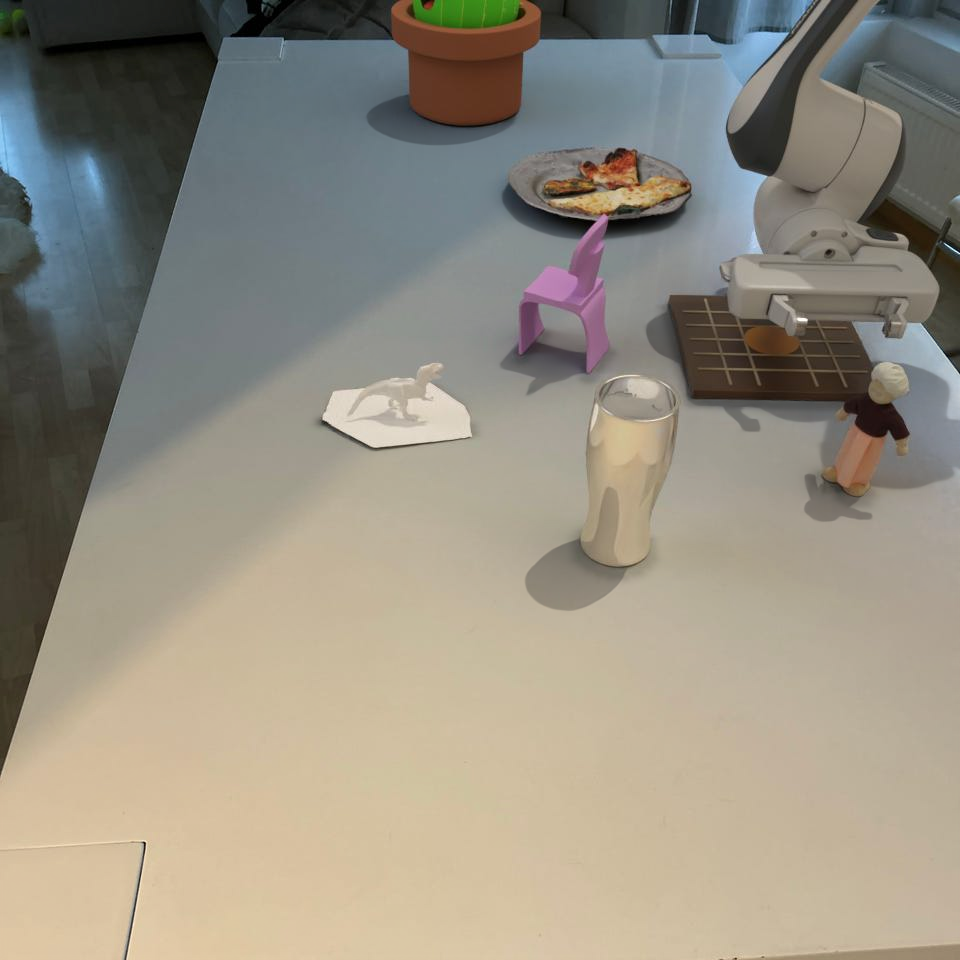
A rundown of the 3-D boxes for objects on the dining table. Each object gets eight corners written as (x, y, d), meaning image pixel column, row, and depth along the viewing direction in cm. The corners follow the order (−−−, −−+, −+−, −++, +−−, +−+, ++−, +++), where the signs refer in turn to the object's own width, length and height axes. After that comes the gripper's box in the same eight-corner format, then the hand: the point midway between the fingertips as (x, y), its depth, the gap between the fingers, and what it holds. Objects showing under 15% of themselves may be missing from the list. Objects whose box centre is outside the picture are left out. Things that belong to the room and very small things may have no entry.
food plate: (645, 155, 145) (649, 129, 143) (719, 221, 130) (725, 194, 128) (486, 173, 140) (486, 147, 137) (544, 245, 125) (546, 218, 122)
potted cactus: (470, 74, 168) (472, -106, 150) (562, 110, 157) (576, -80, 139) (369, 103, 158) (357, -87, 139) (459, 144, 147) (460, -56, 128)
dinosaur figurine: (319, 464, 97) (303, 413, 92) (341, 384, 104) (327, 333, 99) (469, 463, 95) (461, 411, 90) (481, 381, 102) (474, 328, 97)
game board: (837, 305, 115) (840, 296, 115) (883, 401, 102) (887, 392, 101) (668, 302, 115) (669, 293, 114) (691, 398, 102) (693, 388, 101)
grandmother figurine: (804, 476, 93) (842, 356, 84) (824, 458, 95) (864, 340, 86) (878, 512, 89) (927, 392, 80) (897, 493, 91) (947, 374, 82)
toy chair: (541, 323, 111) (550, 189, 100) (613, 341, 109) (630, 206, 98) (510, 357, 106) (516, 220, 95) (585, 378, 104) (600, 239, 93)
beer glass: (601, 508, 89) (621, 362, 78) (668, 538, 86) (699, 391, 75) (560, 549, 85) (574, 401, 74) (629, 582, 83) (655, 434, 72)
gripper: (722, 230, 100) (746, 297, 91) (921, 235, 100) (965, 302, 91) (710, 288, 105) (732, 357, 95) (900, 292, 105) (940, 362, 96)
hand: (847, 330), depth 93 cm, fingers open, 8 cm apart
